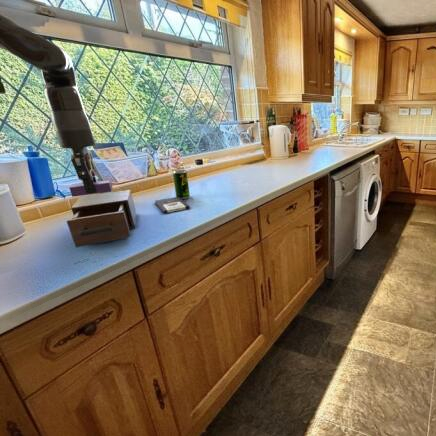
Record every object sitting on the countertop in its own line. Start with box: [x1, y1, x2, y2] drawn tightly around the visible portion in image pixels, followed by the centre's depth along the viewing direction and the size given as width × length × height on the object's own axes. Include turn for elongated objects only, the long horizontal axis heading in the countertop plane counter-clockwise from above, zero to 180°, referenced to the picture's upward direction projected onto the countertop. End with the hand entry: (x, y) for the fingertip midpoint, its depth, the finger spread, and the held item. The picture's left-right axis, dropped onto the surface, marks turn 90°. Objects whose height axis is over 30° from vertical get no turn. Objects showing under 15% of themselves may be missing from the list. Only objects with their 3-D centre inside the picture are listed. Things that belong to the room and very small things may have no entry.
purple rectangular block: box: [68, 179, 114, 198], centre depth 85 cm, size 9×4×3 cm, turn 119°
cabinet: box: [70, 189, 138, 230], centre depth 99 cm, size 16×14×10 cm
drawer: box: [66, 203, 132, 248], centre depth 88 cm, size 19×13×8 cm
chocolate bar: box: [154, 196, 190, 214], centre depth 120 cm, size 9×1×18 cm
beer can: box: [172, 168, 191, 200], centre depth 129 cm, size 5×5×12 cm
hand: (92, 191), depth 86 cm, fingers closed on purple rectangular block, 4 cm apart
